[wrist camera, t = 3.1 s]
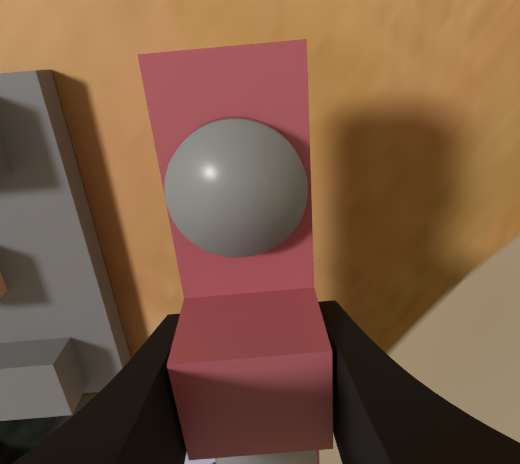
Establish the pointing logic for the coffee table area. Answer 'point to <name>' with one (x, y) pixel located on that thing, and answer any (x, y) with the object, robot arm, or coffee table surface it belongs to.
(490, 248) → the coffee table surface
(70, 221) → the display stand
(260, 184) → the frame bar
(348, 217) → the coffee table surface
